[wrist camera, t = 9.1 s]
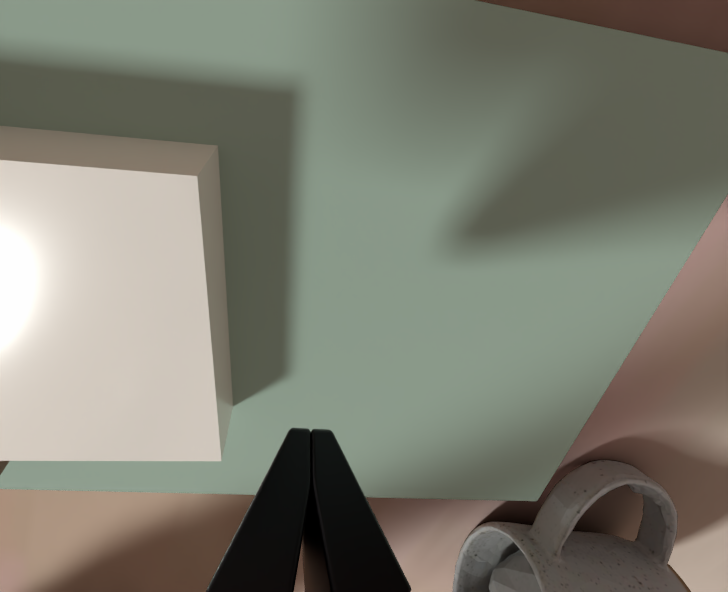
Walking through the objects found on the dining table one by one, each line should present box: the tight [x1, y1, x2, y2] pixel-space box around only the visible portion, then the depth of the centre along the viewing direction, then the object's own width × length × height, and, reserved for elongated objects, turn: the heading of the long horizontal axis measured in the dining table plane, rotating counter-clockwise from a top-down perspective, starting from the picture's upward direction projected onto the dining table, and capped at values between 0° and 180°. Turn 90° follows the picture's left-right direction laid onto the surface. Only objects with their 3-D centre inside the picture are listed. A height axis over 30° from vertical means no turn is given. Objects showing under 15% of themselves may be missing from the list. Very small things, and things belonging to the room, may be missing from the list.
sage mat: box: [0, 0, 728, 501], centre depth 13 cm, size 16×20×1 cm
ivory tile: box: [0, 126, 233, 461], centre depth 11 cm, size 8×6×2 cm
